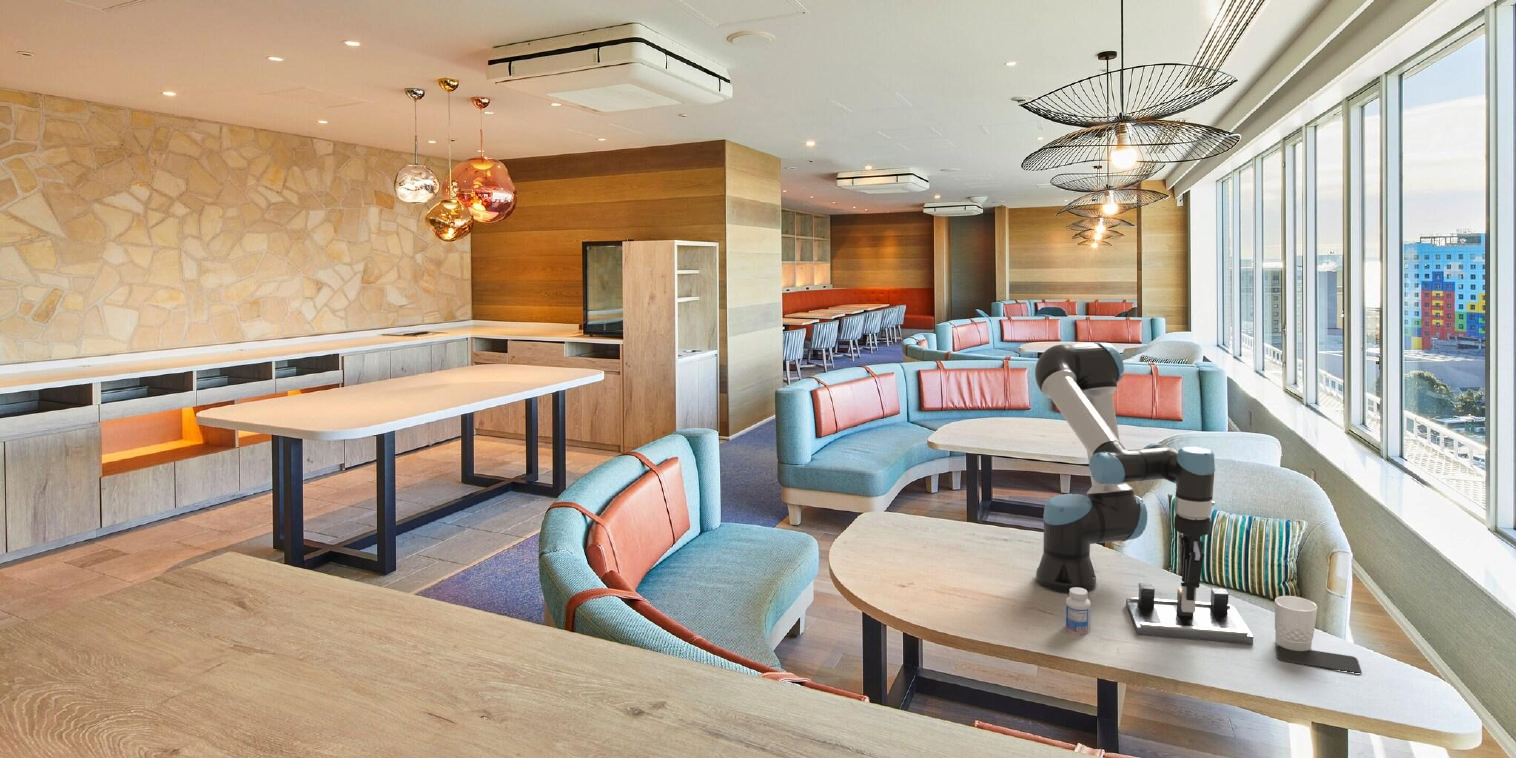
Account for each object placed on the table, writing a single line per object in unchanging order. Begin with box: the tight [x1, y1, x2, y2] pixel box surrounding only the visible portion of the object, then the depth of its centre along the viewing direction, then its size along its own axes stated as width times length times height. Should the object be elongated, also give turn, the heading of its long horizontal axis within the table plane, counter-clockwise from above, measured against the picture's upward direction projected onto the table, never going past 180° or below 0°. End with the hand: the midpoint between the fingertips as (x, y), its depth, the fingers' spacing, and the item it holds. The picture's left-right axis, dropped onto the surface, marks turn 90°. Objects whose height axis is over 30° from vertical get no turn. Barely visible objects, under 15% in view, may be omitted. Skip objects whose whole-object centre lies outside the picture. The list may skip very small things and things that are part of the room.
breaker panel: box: [1125, 582, 1254, 646], centre depth 195 cm, size 24×16×7 cm, turn 74°
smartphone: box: [1275, 645, 1362, 674], centre depth 177 cm, size 7×1×15 cm
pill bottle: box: [1065, 587, 1092, 635], centre depth 194 cm, size 6×5×10 cm
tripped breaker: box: [1176, 587, 1193, 617], centre depth 196 cm, size 3×3×6 cm
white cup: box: [1274, 595, 1318, 651], centre depth 183 cm, size 8×8×10 cm
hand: (1187, 610), depth 193 cm, fingers closed
